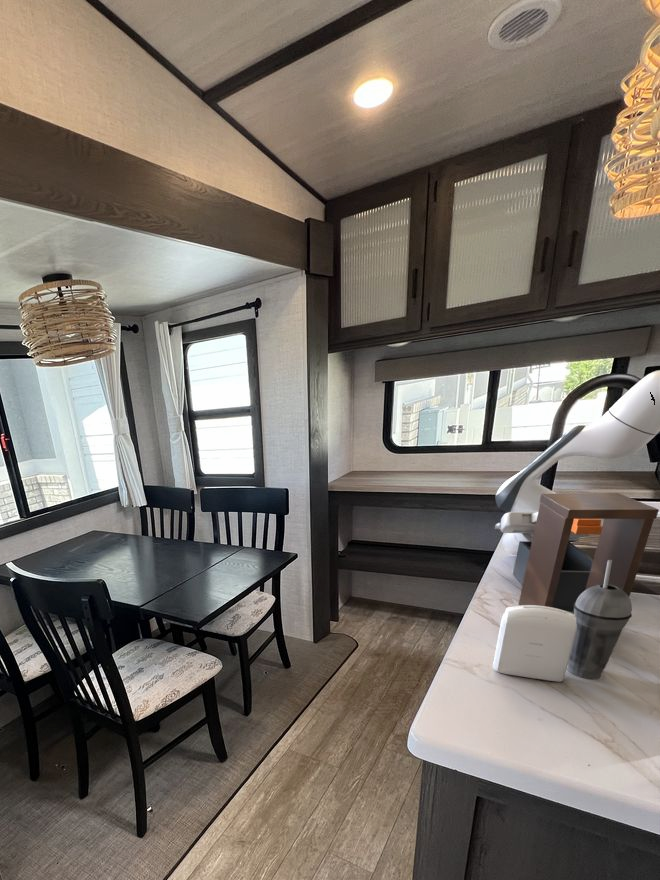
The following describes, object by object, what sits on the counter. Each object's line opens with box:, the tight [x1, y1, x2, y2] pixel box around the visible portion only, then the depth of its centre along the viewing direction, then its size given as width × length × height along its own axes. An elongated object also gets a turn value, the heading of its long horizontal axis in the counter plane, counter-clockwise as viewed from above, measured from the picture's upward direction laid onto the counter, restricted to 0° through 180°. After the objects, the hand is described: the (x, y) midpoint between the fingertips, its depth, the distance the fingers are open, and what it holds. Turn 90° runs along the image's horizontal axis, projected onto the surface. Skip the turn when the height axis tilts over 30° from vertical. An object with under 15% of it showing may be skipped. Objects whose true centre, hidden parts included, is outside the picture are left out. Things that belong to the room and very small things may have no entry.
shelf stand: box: [517, 492, 660, 607], centre depth 85 cm, size 12×13×26 cm
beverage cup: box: [566, 560, 633, 680], centre depth 75 cm, size 7×7×20 cm
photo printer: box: [492, 605, 577, 683], centre depth 77 cm, size 10×4×12 cm, turn 63°
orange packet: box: [571, 519, 602, 536], centre depth 101 cm, size 18×4×3 cm, turn 164°
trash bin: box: [512, 541, 594, 612], centre depth 106 cm, size 11×22×9 cm, turn 164°
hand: (563, 513), depth 105 cm, fingers closed on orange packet, 4 cm apart
